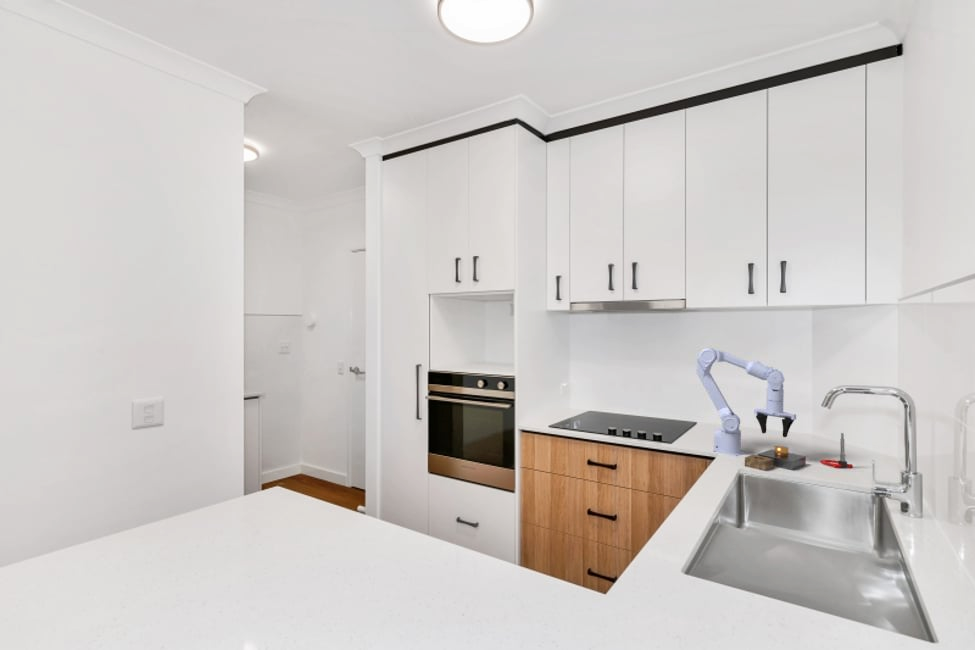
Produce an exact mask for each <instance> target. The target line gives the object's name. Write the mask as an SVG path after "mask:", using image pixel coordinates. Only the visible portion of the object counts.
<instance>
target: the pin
mask: <svg viewBox="0 0 975 650" xmlns="http://www.w3.org/2000/svg"><path fill="white" fill-rule="evenodd" d="M773 450H774V455H776V456H780V457H788V453H789V447H788V446H782V445H774V449H773Z"/></svg>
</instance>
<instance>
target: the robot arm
mask: <svg viewBox="0 0 975 650" xmlns="http://www.w3.org/2000/svg"><path fill="white" fill-rule="evenodd" d="M696 361H697V363H696V371H695V372H696V375H697V377H698V378H699V380H700V382H701V383H702V386H703V388H704V389H705V390H706V392H707V394H708V396H709V398H710V400H711V402H712V403H713V405H714V407H715V409H716V411H717V412H718V416H719V418H720V420H721V426H722V427H721V428H719V429H716V430H715V432H714V436H713V450H712V451H713V452H714V453H720V454H723V455H724V454H725V455H729V456H733V457H738V456H740V455H741V456H742V455H744V454H746V452H745V451H741V450H742V449H741V447H742V443H741V442H742V430H741V429H739V428H740V426H741V425H740V424H741V418H740V417H739V415H737V414H735V412H734V411H733V410H732V408H731V407H730V405H729V404H728V402H727V400H726V399H725V396H724V395H723V393H722V391H721V390H720V388H719V386H718V385H717V382H716V381H715V379H714V377H713V375H712V373H711V369H712V367H713V364H714V363H715V362H716V363H717V362H718V363H722V362H725V363H727V364H731V365H733V366H736V367H739V368H741V369H744V370H745V372H746V374H747V375H750V376H752V377H754V378H757V379H759V380H762V381H767V387H766V404H765V407H766V409H762V408H754V412H753V413H754V415H755V418H756V419H757V422H758V424H759V426H760V431H761V434H766V433H767V422H768V421H767V420H768V416H769V417H775V418H781V424H782V438H788V434H789V432H790V429H791V426H792V425H793V424H794V421H795V420H797V414H796V413H789V412H785V411H784V398H785V397H784V394H785V392H784V391H785V390H784V382H785V376H784V374H783V373H782V371H780V370H778V369H776V368H775V369H774V367H773V366H770V367H769V366H767V365H764V364H763V363H761V362H760V361H759V360H756V361H755V360H752V361H746V360H744V359H742V358H740V357H737V356H735V355H732V354H730V353H729V352H726V351H723V350H720V349H715V348H713V347H707V348H704V349H702V350H700V353H699V355H698V356H697V360H696Z"/></svg>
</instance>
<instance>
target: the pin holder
mask: <svg viewBox="0 0 975 650" xmlns="http://www.w3.org/2000/svg"><path fill="white" fill-rule="evenodd" d="M773 460H774V459H772V458H767V457H763V456H758V455H757V454H751V455H748V456H746V457H745V456H744V467H746V468H750V469H755V470H758V471H763V472H766V471H768V470H771V469H774V466H773Z"/></svg>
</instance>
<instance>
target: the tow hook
mask: <svg viewBox="0 0 975 650" xmlns="http://www.w3.org/2000/svg"><path fill="white" fill-rule="evenodd" d="M844 435H845V434H844V432H841V433H840V440H839V441H840V453H839V460H834V459H820V463H821V464H822V465H825V466H831V467H832V468H834V469H853V467H854V466H853V464H852V463H848V461H847V460H846V453H845V437H844ZM831 462H832V463H831Z"/></svg>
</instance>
